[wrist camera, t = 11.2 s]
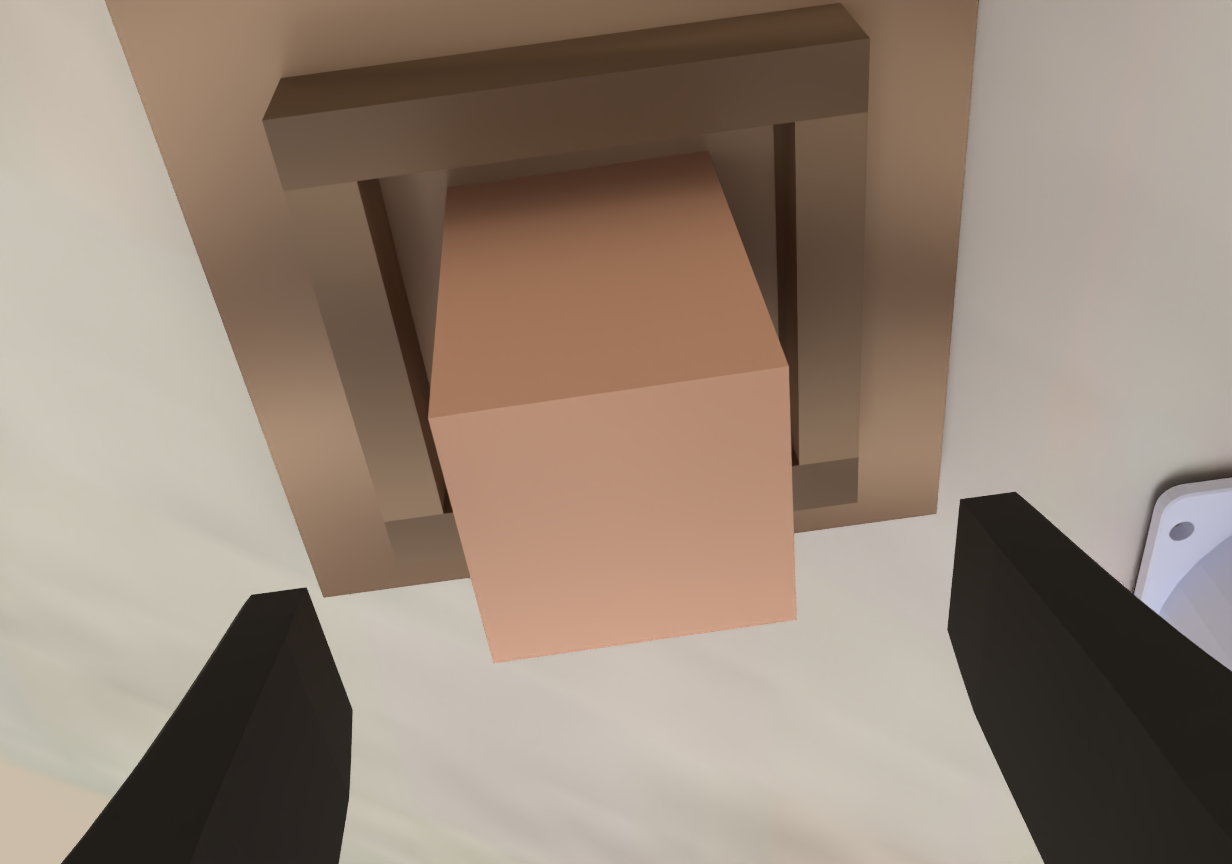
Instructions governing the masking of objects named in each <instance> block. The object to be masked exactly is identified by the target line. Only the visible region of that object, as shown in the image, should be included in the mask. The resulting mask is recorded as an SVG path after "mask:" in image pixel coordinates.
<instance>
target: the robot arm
mask: <svg viewBox="0 0 1232 864" xmlns="http://www.w3.org/2000/svg"><path fill="white" fill-rule="evenodd" d="M1179 523H1181V524H1179ZM1177 524H1179V525H1178V526H1176V525H1177ZM1174 526H1176V527H1174ZM947 630H948V633H949V636H950V639H951V643H952V646H953V649H954V652H955V655H956V659H957V662H958V665H959V668H960V672H961V675H962V678H963V681H964V684H965V687H966V690H967V693H968V696H969V699H970V702H971V705H972V707H973V710H974V713H975V715H976V718H977V720H978V722H979V724H980V726H981V729H982V731H983V733H984V735H985V737H986V740H987V742H988V744H989V746H990V748H991V750H992V753H993V755H994V757H995V759H996V761H997V763H998V766H999V768H1000V770H1001V772H1002V774H1003V776H1004V779H1005V781H1006V783H1007V785H1008V787H1009V789H1010V791H1011V793H1012V795H1013V798H1014V800H1015V802H1016V804H1017V806H1018V808H1019V810H1020V812H1021V815H1022V817H1023V819H1024V821H1025V823H1026V825H1027V827H1028V829H1029V832H1030V834H1031V836H1032V838H1033V840H1034V842H1035V844H1036V846H1037V849H1038V851H1039V853H1040V855H1041V857H1042V859H1043V861H1044V863H1045V864H1232V478H1225V479H1217V480H1210V481H1203V482H1195V483H1188V484H1181V485H1178V486H1174V487H1172V488H1170V489H1168V490H1167V491H1165V492H1164V493H1163V494H1162V495H1161V496H1160V497H1159V498H1158V500H1157V502H1156V504H1155V507H1154V511H1153V515H1152V520H1151V524H1150V528H1149V533H1148V537H1147V541H1146V545H1145V550H1144V554H1143V558H1142V563H1141V567H1140V571H1139V575H1138V580H1137V584H1136V588H1135V593H1134V594H1133V593H1131V592H1130V591H1129V590H1128V589H1127V588H1125V587H1124V586H1123V585H1122V584H1121V583H1119V582H1118V581H1117V580H1116V579H1115V578H1114V577H1112V576H1111V575H1110V574H1109V573H1108V572H1107V571H1105V570H1104V569H1103V568H1102V567H1101V566H1100V565H1099V564H1097V563H1096V562H1095V561H1094V560H1093V559H1092V558H1090V557H1089V556H1088V555H1087V554H1086V553H1085V552H1084V551H1082V550H1081V549H1080V548H1079V547H1078V546H1077V545H1076V544H1075V543H1073V542H1072V541H1071V540H1070V539H1069V538H1068V537H1067V536H1065V535H1064V534H1063V533H1062V532H1061V531H1060V530H1059V529H1058V528H1057V527H1055V526H1054V525H1053V524H1052V523H1051V522H1050V521H1049V520H1048V519H1046V518H1045V517H1044V516H1043V515H1042V514H1041V513H1040V512H1039V511H1037V510H1036V509H1035V508H1034V507H1033V506H1032V505H1031V504H1029V503H1028V502H1027V501H1026V500H1025V499H1024V498H1022V497H1021V496H1020V495H1019V494H1018V493H1016V492H1011V493H1003V494H996V495H988V496H981V497H974V498H966V499H960V506H959V516H958V526H957V537H956V547H955V557H954V568H953V578H952V588H951V598H950V609H949V619H948V629H947ZM351 744H352V707H351V705H350V702H349V699H348V697H347V694H346V691H345V689H344V686H343V683H342V681H341V678H340V675H339V673H338V670H337V667H336V665H335V662H334V659H333V657H332V654H331V651H330V649H329V646H328V643H327V641H326V638H325V635H324V633H323V630H322V627H321V625H320V622H319V619H318V617H317V614H316V611H315V609H314V606H313V603H312V601H311V598H310V595H309V593H308V590H307V587H306V588H299V589H292V590H284V591H277V592H269V593H262V594H255V595H251V596H250V597H249V599H248V600H247V601H246V602H245V604H244V605H243V607H242V608H241V610H240V611H239V613H238V614H237V616H236V617H235V619H234V620H233V622H232V624H231V625H230V627H229V628H228V630H227V631H226V633H225V635H224V636H223V638H222V639H221V641H220V642H219V644H218V646H217V647H216V649H215V650H214V652H213V653H212V655H211V657H210V658H209V660H208V661H207V663H206V664H205V666H204V667H203V669H202V670H201V672H200V674H199V675H198V677H197V678H196V680H195V681H194V683H193V684H192V686H191V687H190V689H189V690H188V692H187V693H186V695H185V696H184V698H183V699H182V701H181V702H180V704H179V705H178V707H177V708H176V710H175V711H174V713H173V714H172V716H171V717H170V718H169V720H168V721H167V723H166V724H165V726H164V727H163V729H162V730H161V731H160V733H159V734H158V736H157V737H156V739H155V740H154V742H153V743H152V745H151V746H150V747H149V749H148V750H147V752H146V753H145V755H144V756H143V758H142V759H141V760H140V762H139V763H138V765H137V766H136V767H135V769H134V770H133V771H132V773H131V774H130V775H129V777H128V778H127V779H126V781H125V782H124V783H123V785H122V786H121V787H120V789H119V790H118V791H117V793H116V794H115V795H114V797H113V798H112V799H111V801H110V802H109V803H108V804H107V806H106V807H105V808H104V810H103V811H102V813H101V814H100V815H99V816H98V818H97V819H96V820H95V822H94V823H93V824H92V826H91V827H90V828H89V830H88V831H87V832H86V834H85V835H84V836H83V837H82V838H81V840H80V841H79V842H78V844H77V845H76V846H75V847H74V848H73V850H72V851H71V852H70V853H69V855H68V856H67V857H66V858H65V859H64V861H63V862H62V863H61V864H339V858H340V851H341V845H342V839H343V833H344V827H345V820H346V814H347V807H348V801H349V789H350V769H351Z"/></svg>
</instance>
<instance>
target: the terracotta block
mask: <svg viewBox="0 0 1232 864" xmlns="http://www.w3.org/2000/svg"><path fill="white" fill-rule="evenodd" d="M428 420H429V424H430V428H431V431H432V435H433V439H434V443H435V446H436V450H437V454H438V457H439V461H440V465H441V469H442V472H443V476H444V480H445V484H446V487H447V491H448V495H449V499H450V502H451V506H452V510H453V514H454V517H455V521H456V525H457V529H458V532H459V536H460V540H461V543H462V547H463V551H464V555H465V558H466V562H467V566H468V570H469V573H470V577H471V581H472V585H473V588H474V592H475V596H476V600H477V603H478V607H479V611H480V615H481V618H482V622H483V626H484V630H485V633H486V637H487V641H488V644H489V648H490V652H491V656H492V659H493V663H498V662H505V661H512V660H519V659H526V658H533V657H540V656H547V655H554V654H561V653H567V652H574V651H581V650H588V649H595V648H602V647H609V646H616V645H623V644H630V643H637V642H644V641H651V640H658V639H665V638H672V637H679V636H686V635H693V634H700V633H707V632H713V631H720V630H727V629H734V628H741V627H748V626H755V625H762V624H769V623H776V622H783V621H790V620H796V590H795V557H794V524H793V490H792V457H791V424H790V391H789V366H788V363H787V360H786V358H785V355H784V352H783V350H782V347H781V344H780V342H779V339H778V336H777V334H776V331H775V328H774V326H773V323H772V320H771V318H770V315H769V312H768V310H767V307H766V304H765V302H764V299H763V296H762V294H761V291H760V288H759V286H758V283H757V280H756V278H755V275H754V272H753V270H752V267H751V264H750V262H749V259H748V256H747V254H746V251H745V248H744V246H743V243H742V241H741V238H740V235H739V233H738V230H737V227H736V225H735V222H734V219H733V217H732V214H731V211H730V209H729V206H728V203H727V201H726V198H725V195H724V193H723V190H722V187H721V185H720V182H719V179H718V177H717V174H716V171H715V169H714V166H713V163H712V161H711V158H710V155H709V153H708V151H701V152H694V153H687V154H680V155H673V156H666V157H659V158H652V159H645V160H638V161H632V162H625V163H618V164H611V165H604V166H597V167H590V168H583V169H576V170H569V171H562V172H555V173H549V174H542V175H535V176H528V177H521V178H514V179H507V180H500V181H493V182H486V183H479V184H473V185H466V186H459V187H452V188H447V194H446V206H445V219H444V231H443V243H442V255H441V267H440V279H439V291H438V304H437V316H436V328H435V340H434V352H433V364H432V376H431V388H430V401H429V413H428Z"/></svg>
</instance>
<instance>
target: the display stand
mask: <svg viewBox="0 0 1232 864" xmlns="http://www.w3.org/2000/svg"><path fill="white" fill-rule="evenodd" d="M105 2H106V5H107V7H108V10H109V13H110V16H111V18H112V21H113V24H114V27H115V29H116V32H117V35H118V38H119V40H120V43H121V46H122V48H123V51H124V54H125V57H126V59H127V62H128V65H129V68H130V70H131V73H132V76H133V78H134V81H135V84H136V87H137V89H138V92H139V95H140V98H141V100H142V103H143V106H144V109H145V111H146V114H147V117H148V119H149V122H150V125H151V128H152V130H153V133H154V136H155V139H156V141H157V144H158V147H159V150H160V152H161V155H162V158H163V160H164V163H165V166H166V169H167V171H168V174H169V177H170V180H171V182H172V185H173V188H174V190H175V193H176V196H177V199H178V201H179V204H180V207H181V210H182V212H183V215H184V218H185V221H186V223H187V226H188V229H189V231H190V234H191V237H192V240H193V242H194V245H195V248H196V251H197V253H198V256H199V259H200V261H201V264H202V267H203V270H204V272H205V275H206V278H207V281H208V283H209V286H210V289H211V292H212V294H213V297H214V300H215V302H216V305H217V308H218V311H219V313H220V316H221V319H222V322H223V324H224V327H225V330H226V333H227V335H228V338H229V341H230V343H231V346H232V349H233V352H234V354H235V357H236V360H237V363H238V365H239V368H240V371H241V373H242V376H243V379H244V382H245V384H246V387H247V390H248V393H249V395H250V398H251V401H252V404H253V406H254V409H255V412H256V414H257V417H258V420H259V423H260V425H261V428H262V431H263V434H264V436H265V439H266V442H267V444H268V447H269V450H270V453H271V455H272V458H273V461H274V464H275V466H276V469H277V472H278V475H279V477H280V480H281V483H282V485H283V488H284V491H285V494H286V496H287V499H288V502H289V505H290V507H291V510H292V513H293V516H294V518H295V521H296V524H297V526H298V529H299V532H300V535H301V537H302V540H303V543H304V546H305V548H306V551H307V554H308V556H309V559H310V562H311V565H312V567H313V570H314V573H315V576H316V578H317V581H318V584H319V587H320V589H321V592H322V595H323V597H331V596H338V595H346V594H353V593H360V592H368V591H375V590H382V589H389V588H397V587H404V586H411V585H419V584H426V583H433V582H441V581H448V580H455V579H463V578H470V573H469V570H468V566H467V562H466V558H465V555H464V551H463V547H462V543H461V540H460V536H459V532H458V529H457V525H456V521H455V517H454V514H453V510H452V506H451V502H450V499H449V495H448V491H447V487H446V484H445V480H444V476H443V472H442V469H441V465H440V461H439V457H438V454H437V450H436V446H435V443H434V439H433V435H432V431H431V428H430V424H429V420H428V413H429V401H430V388H431V376H432V364H433V352H434V340H435V328H436V316H437V304H438V291H439V279H440V267H441V255H442V243H443V231H444V219H445V206H446V194H447V188H452V187H459V186H466V185H473V184H479V183H486V182H493V181H500V180H507V179H514V178H521V177H528V176H535V175H542V174H549V173H555V172H562V171H569V170H576V169H583V168H590V167H597V166H604V165H611V164H618V163H625V162H632V161H638V160H645V159H652V158H659V157H666V156H673V155H680V154H687V153H694V152H701V151H708V153H709V155H710V158H711V161H712V163H713V166H714V169H715V171H716V174H717V177H718V179H719V182H720V185H721V187H722V190H723V193H724V195H725V198H726V201H727V203H728V206H729V209H730V211H731V214H732V217H733V219H734V222H735V225H736V227H737V230H738V233H739V235H740V238H741V241H742V243H743V246H744V248H745V251H746V254H747V256H748V259H749V262H750V264H751V267H752V270H753V272H754V275H755V278H756V280H757V283H758V286H759V288H760V291H761V294H762V296H763V299H764V302H765V304H766V307H767V310H768V312H769V315H770V318H771V320H772V323H773V326H774V328H775V331H776V334H777V336H778V339H779V342H780V344H781V347H782V350H783V352H784V355H785V358H786V360H787V363H788V366H789V391H790V424H791V457H792V490H793V524H794V533H799V532H806V531H814V530H821V529H828V528H836V527H843V526H850V525H858V524H865V523H872V522H880V521H887V520H894V519H902V518H909V517H916V516H923V515H931V514H936V512H937V500H938V488H939V476H940V464H941V452H942V440H943V427H944V415H945V403H946V391H947V379H948V367H949V355H950V343H951V330H952V318H953V306H954V294H955V282H956V270H957V258H958V246H959V234H960V221H961V209H962V197H963V185H964V173H965V161H966V149H967V137H968V124H969V112H970V100H971V88H972V76H973V64H974V52H975V40H976V28H977V15H978V3H979V0H105Z"/></svg>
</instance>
